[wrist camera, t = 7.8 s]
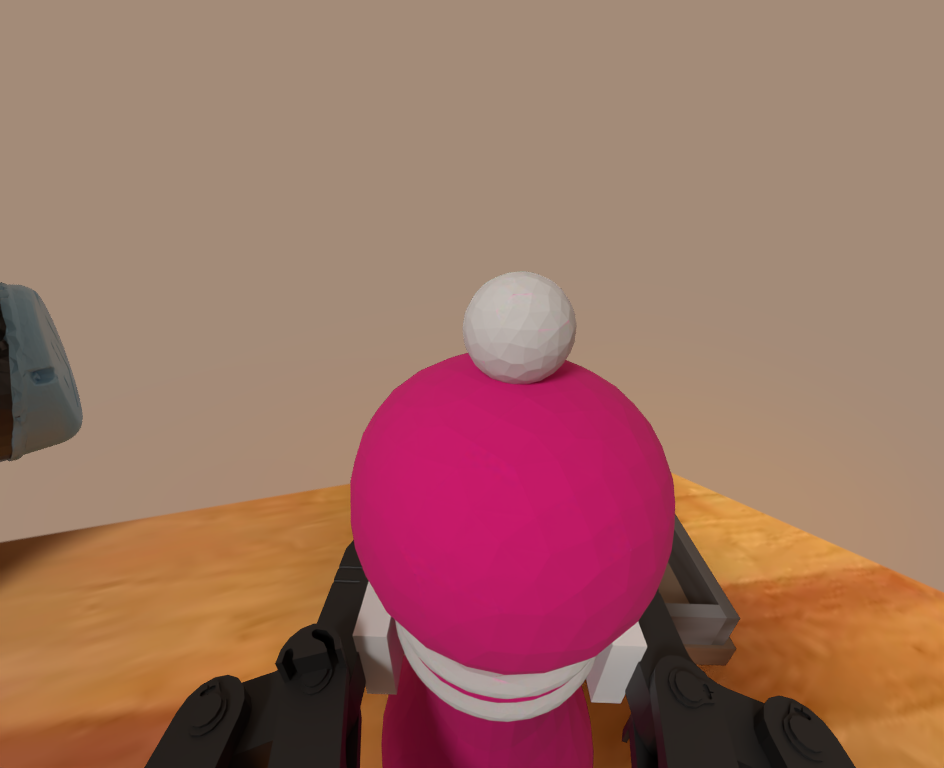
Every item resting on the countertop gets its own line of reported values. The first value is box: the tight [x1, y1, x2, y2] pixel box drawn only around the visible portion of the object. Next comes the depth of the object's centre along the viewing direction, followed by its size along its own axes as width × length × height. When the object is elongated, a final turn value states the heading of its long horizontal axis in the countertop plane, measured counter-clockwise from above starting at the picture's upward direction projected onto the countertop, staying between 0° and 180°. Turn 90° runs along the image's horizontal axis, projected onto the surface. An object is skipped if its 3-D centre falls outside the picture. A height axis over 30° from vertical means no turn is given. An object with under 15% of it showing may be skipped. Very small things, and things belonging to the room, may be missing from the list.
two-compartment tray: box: [404, 515, 740, 665], centre depth 27 cm, size 26×11×5 cm, turn 89°
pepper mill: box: [351, 272, 675, 768], centre depth 10 cm, size 7×7×20 cm
